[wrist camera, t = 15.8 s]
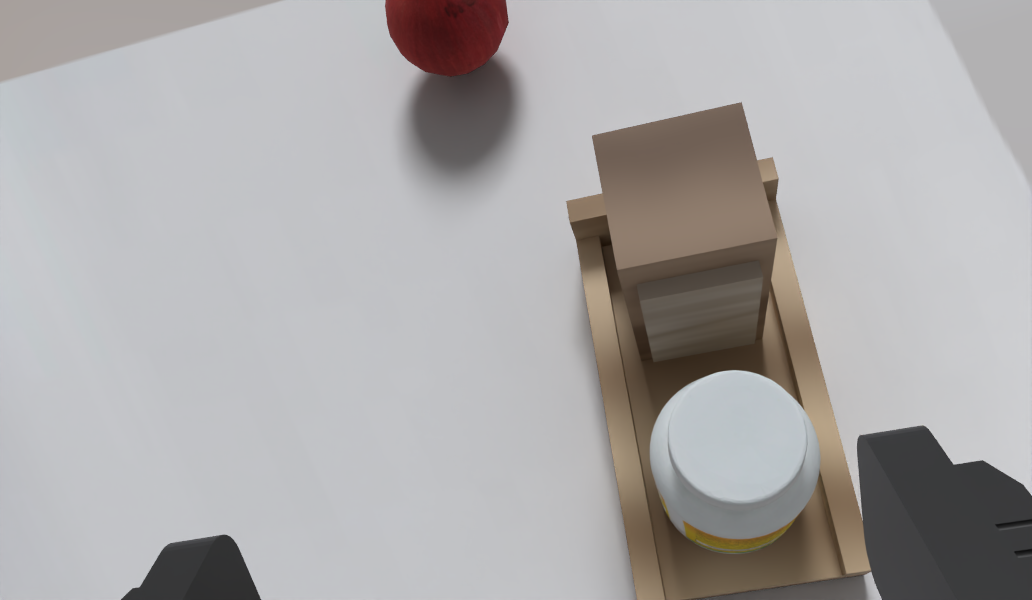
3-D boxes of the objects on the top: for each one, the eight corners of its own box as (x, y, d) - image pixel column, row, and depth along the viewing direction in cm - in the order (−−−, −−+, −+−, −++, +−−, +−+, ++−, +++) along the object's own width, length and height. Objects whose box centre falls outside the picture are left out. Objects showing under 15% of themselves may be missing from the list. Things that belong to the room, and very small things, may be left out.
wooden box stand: (864, 574, 34) (929, 544, 24) (643, 606, 35) (612, 591, 25) (766, 206, 40) (784, 52, 30) (581, 244, 42) (535, 109, 31)
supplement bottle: (631, 478, 36) (605, 425, 27) (731, 390, 36) (737, 310, 27) (727, 587, 34) (732, 568, 25) (832, 492, 34) (873, 441, 25)
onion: (513, 1, 47) (476, -117, 40) (528, 91, 45) (492, -16, 38) (408, 27, 48) (353, -83, 41) (418, 117, 46) (361, 18, 39)
